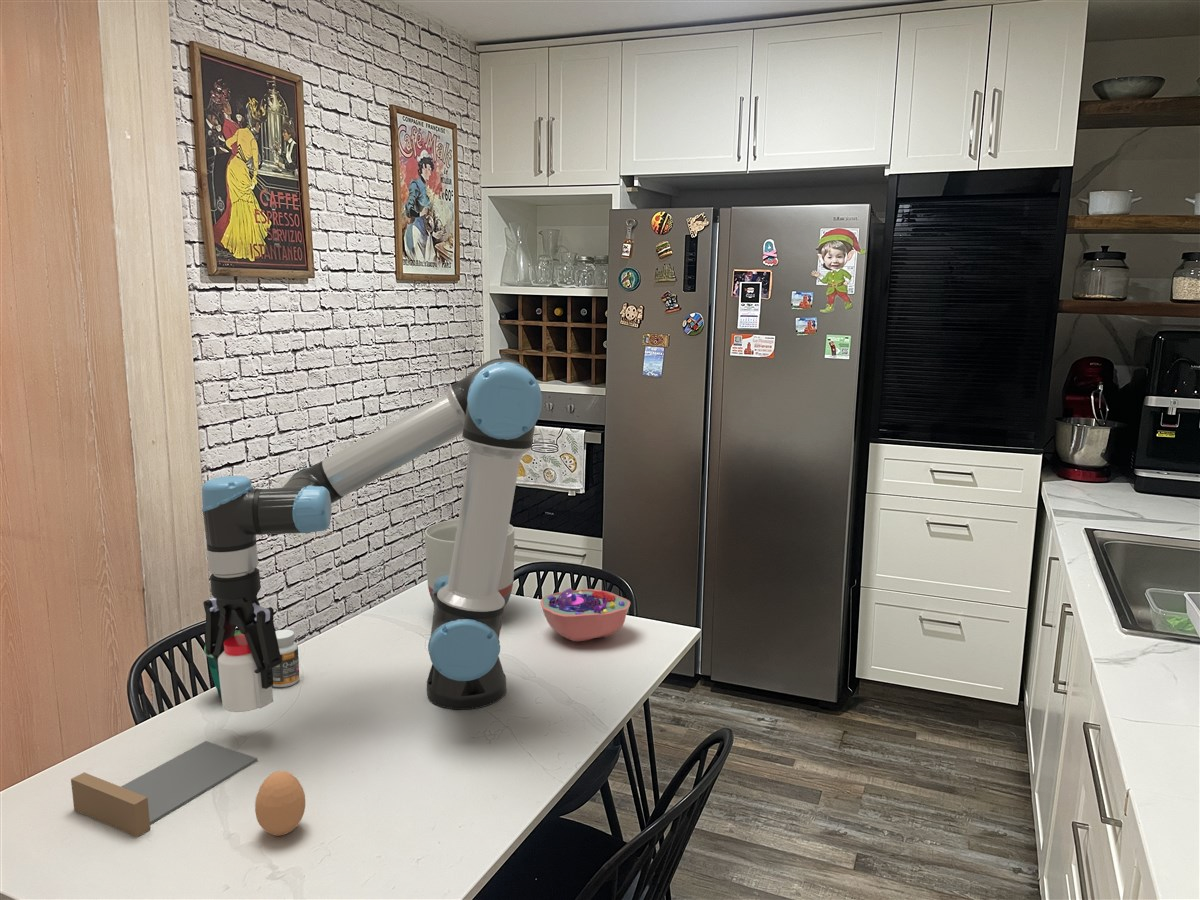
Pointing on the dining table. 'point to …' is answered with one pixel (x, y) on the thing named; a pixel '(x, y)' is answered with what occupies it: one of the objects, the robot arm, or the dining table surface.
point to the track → (156, 788)
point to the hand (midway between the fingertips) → (247, 699)
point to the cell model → (585, 613)
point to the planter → (441, 553)
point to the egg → (280, 803)
